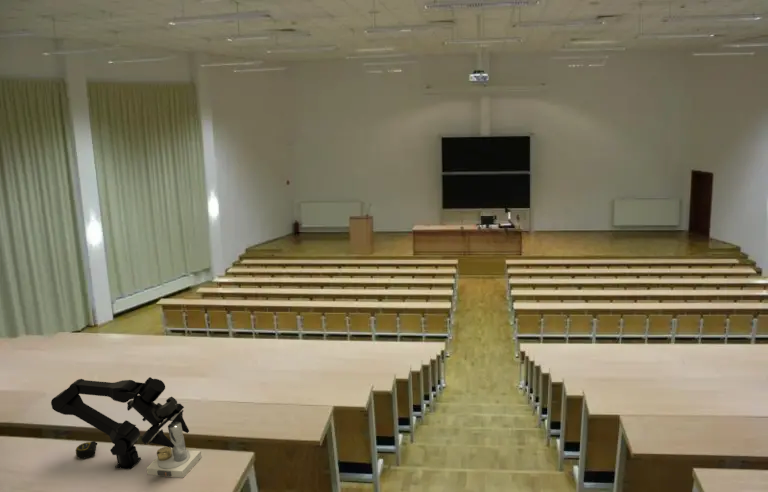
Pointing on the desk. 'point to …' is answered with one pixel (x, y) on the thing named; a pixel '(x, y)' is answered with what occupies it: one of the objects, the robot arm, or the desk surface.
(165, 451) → the brass weight
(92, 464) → the desk surface
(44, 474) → the desk surface
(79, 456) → the tape measure
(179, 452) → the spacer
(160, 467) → the scale
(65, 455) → the desk surface
